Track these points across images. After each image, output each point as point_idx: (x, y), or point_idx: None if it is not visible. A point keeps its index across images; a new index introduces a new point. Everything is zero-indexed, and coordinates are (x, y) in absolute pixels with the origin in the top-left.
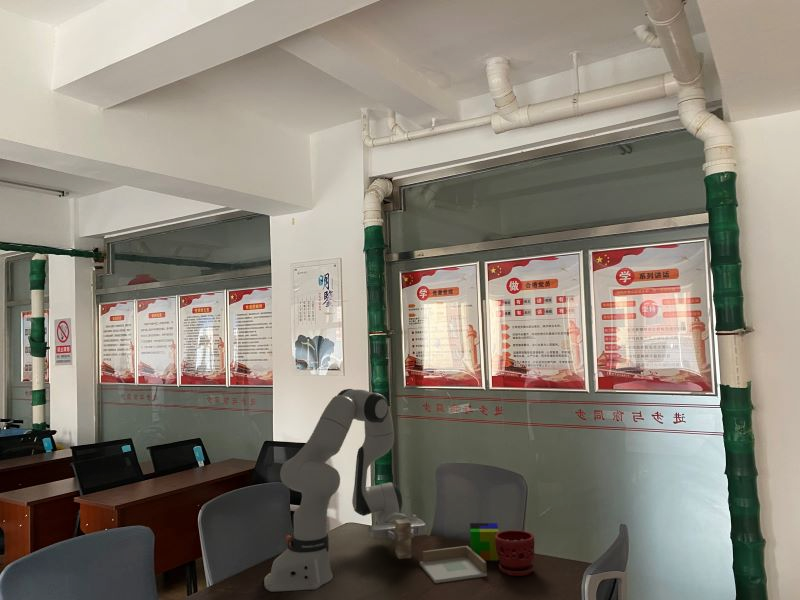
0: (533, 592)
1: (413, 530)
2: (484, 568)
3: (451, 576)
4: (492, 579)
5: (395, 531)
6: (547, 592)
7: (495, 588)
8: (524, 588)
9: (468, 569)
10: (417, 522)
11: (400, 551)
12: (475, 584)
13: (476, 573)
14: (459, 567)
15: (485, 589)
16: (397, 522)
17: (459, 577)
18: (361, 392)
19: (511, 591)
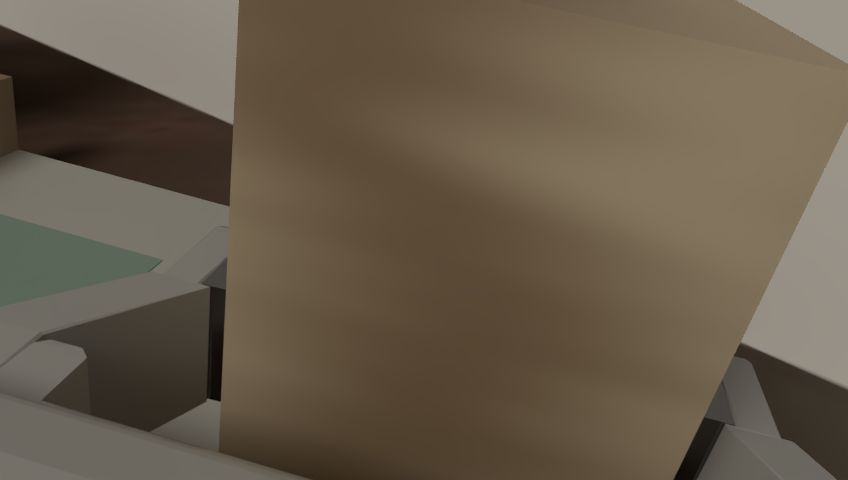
0: (67, 58)
1: (37, 314)
2: (11, 116)
3: (227, 217)
4: (34, 142)
5: (669, 444)
6: (29, 42)
7: (143, 116)
8: (48, 73)
9: (11, 208)
10: None
11: None
12: (173, 162)
13: (52, 167)
14: (17, 248)
15: (191, 131)
16: (752, 12)
17: (188, 200)
18: None
19: (122, 88)
